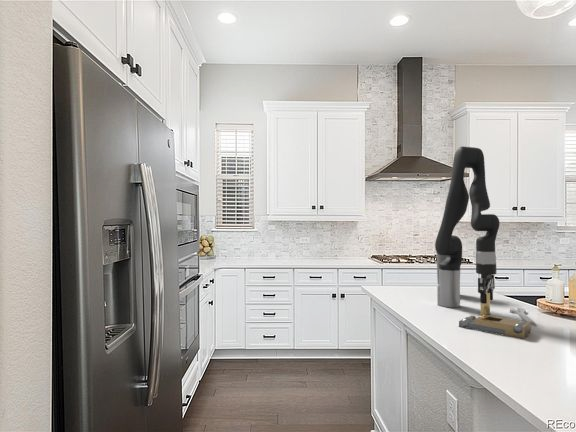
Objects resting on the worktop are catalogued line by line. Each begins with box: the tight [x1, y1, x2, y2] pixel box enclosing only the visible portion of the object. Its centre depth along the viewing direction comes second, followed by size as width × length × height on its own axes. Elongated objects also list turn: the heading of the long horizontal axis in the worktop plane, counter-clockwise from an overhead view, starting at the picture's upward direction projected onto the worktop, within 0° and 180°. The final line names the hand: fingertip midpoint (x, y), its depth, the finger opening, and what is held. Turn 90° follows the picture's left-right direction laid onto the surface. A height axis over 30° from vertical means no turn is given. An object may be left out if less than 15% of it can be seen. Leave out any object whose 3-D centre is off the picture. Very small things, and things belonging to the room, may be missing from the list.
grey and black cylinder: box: [436, 234, 454, 285], centre depth 206 cm, size 13×13×35 cm
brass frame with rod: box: [458, 314, 532, 340], centre depth 142 cm, size 22×10×4 cm, turn 46°
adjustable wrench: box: [509, 307, 536, 327], centre depth 160 cm, size 25×6×2 cm, turn 157°
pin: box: [480, 292, 491, 316], centre depth 157 cm, size 3×3×11 cm
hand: (486, 301), depth 157 cm, fingers open, 8 cm apart
